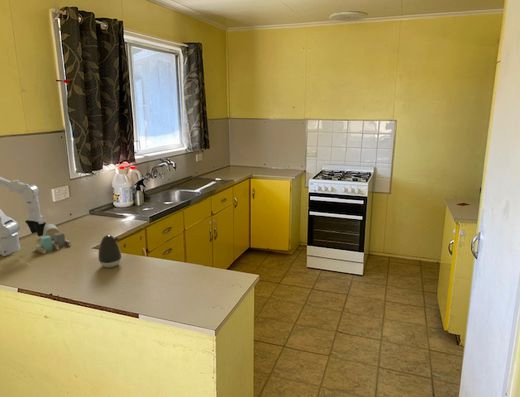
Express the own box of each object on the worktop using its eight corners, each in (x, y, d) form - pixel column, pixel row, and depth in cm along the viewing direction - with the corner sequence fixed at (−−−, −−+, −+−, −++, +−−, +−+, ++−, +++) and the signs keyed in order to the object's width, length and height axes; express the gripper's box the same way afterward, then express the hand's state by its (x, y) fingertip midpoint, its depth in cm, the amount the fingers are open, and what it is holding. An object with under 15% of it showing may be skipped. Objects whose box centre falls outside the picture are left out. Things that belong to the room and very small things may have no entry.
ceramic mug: (47, 241, 217) (45, 228, 216) (43, 237, 223) (41, 225, 222) (67, 237, 224) (65, 224, 222) (63, 234, 230) (61, 221, 228)
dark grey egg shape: (115, 270, 180) (111, 239, 176) (94, 268, 182) (91, 238, 178) (126, 262, 189) (123, 232, 186) (107, 260, 191) (104, 231, 188)
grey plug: (58, 248, 206) (56, 235, 204) (54, 246, 208) (52, 234, 206) (65, 245, 209) (64, 233, 207) (62, 244, 211) (60, 232, 209)
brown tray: (44, 255, 198) (43, 249, 197) (36, 251, 203) (35, 245, 202) (71, 247, 209) (70, 241, 208) (63, 243, 214) (62, 238, 213)
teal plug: (45, 251, 200) (43, 239, 199) (41, 250, 203) (39, 237, 201) (52, 249, 203) (51, 236, 202) (49, 247, 206) (47, 235, 204)
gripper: (48, 209, 196) (51, 235, 200) (35, 205, 205) (39, 229, 208) (33, 213, 191) (37, 238, 194) (21, 208, 200) (25, 233, 203)
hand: (37, 234), depth 201 cm, fingers open, 7 cm apart
